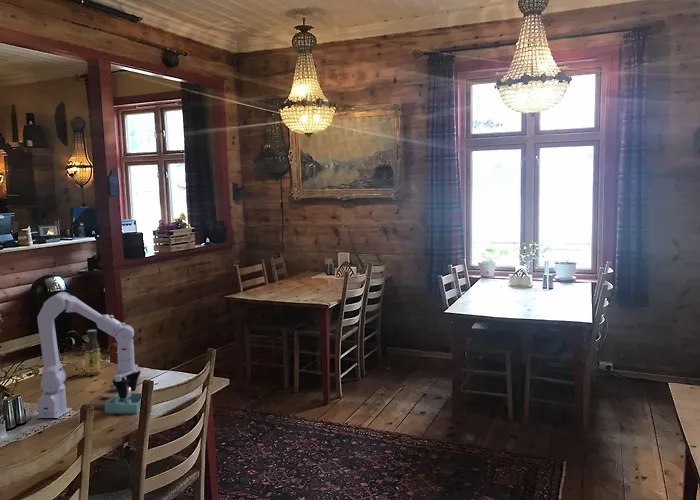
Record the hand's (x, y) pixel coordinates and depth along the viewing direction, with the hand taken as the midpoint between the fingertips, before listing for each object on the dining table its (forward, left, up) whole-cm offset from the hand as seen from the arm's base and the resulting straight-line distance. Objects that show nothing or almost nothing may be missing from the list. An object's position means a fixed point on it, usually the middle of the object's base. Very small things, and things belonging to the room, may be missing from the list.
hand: (127, 394), depth 211 cm
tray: (0, 0, -5) cm, 5 cm away
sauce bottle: (+38, +34, -5) cm, 51 cm away
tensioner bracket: (+7, +11, -5) cm, 14 cm away
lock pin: (0, 0, -4) cm, 4 cm away
